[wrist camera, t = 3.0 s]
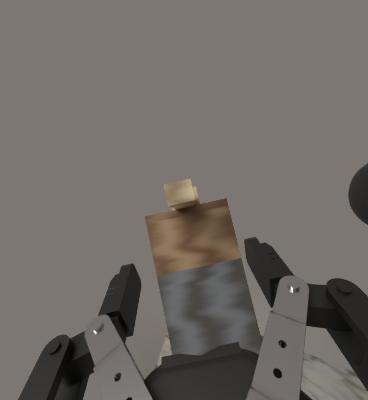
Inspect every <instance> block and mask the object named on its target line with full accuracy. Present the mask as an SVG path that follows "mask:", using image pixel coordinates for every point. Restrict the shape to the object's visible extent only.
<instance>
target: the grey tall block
mask: <svg viewBox="0 0 368 400" xmlns="http://www.w3.org/2000/svg"><path fill="white" fill-rule="evenodd" d="M145 219H146V224H147V229H148V234H149V239H150V243H151V249H152V254H153V259H154V264H155V268H156V274H157V279H158V284H159V289H160V294H161V299H162V304H163V309H164V314H165V319H166V324H167V329H168V334H169V339H170V344H171V349H172V354H173V355H175V354H180V353H181V354H190V355H203V354H205V353H207V352H208V351H210V350H212V349H214V348H216V347H218V346H220V345H225V344H230V343H235V342H239V345H240V348H242V349H247V350H251V351H253V352H256V353H257V354H259V353H260V349H261V345H262V340H261V336H260V332H259V328H258V324H257V320H256V316H255V312H254V308H253V304H252V300H251V296H250V292H249V288H248V284H247V280H246V275H245V272H244V268H243V264H242V259H241V255H240V251H239V247H238V244H237V239H236V235H235V231H234V227H233V223H232V219H231V215H230V211H229V207H228V203H227V199H226V198H225V199H221V200H217V201H212V202H208V203H203V204H199V205H194V206H190V207H185V208H181V209H177V210H172V211H168V212H164V213H159V214H154V215H150V216H146V217H145Z"/></svg>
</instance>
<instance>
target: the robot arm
mask: <svg viewBox="0 0 368 400" xmlns="http://www.w3.org/2000/svg"><path fill="white" fill-rule="evenodd" d="M348 195H349V203H350V206H351V208H352V210H353V211H354V213H355V214H356V215H357V217H358V218H359V219H361V220H362V221H363V222H364V223H366V224H367V225H368V164H366V165H365V166H363V167H362V168H361V169H360V170H358V172H357V173H356V174H355V176H354V177H353V179H352V181H351V183H350V187H349V194H348ZM244 241H245V242H244V243H245V252H246V259H247V262H248V265H249V267H250V268H251V271H252V272H253V274H254V276H255V278H256V280H257V282H258V284H259V286H260V287H261V290H262V292H263V293H264V295H265V297H266V299H267V301H268V303H269V305H270V307H271V308H272V307H273V310H272V311H271V312H270V314H269V317H268V321H267V325H266V329H265V333H264V337H263V341H262V345H261V349H260V353H259V354H257V353H256V352H253V351H251V350H247V349H242V348H240V345H239V342H235V343H230V344H225V345H220V346H218V347H216V348H214V349H212V350H210V351H208V352H207V353H205V354H203V355H190V354H181V353H180V354H175V355H170V356H166V357H162V363H161V365H160V366H158V367H157V368H156V369H154V370H153V371H152V372H151V373H150V374H149V375H148V377H147V378H146V379H144V377H143V376H142V374H141V372H140V370H139V368H138V367H137V365H136V363H135V361H134V359H133V357H132V355H131V354H130V352H129V350H128V348H127V346H126V345H125V341H126V337H129V336H133V331H134V326H135V320H136V314H137V309H138V303H139V297H140V291H141V280H140V277H139V275H138V273H137V270H136V268H135V266H134V264H128V265H123V266H122V267H121V270H120V273H119V274H117V275H115V276H114V278H113V279H112V280H111V282H110V285H109V287H108V290H107V293H106V296H105V298H104V301H103V304H102V306H101V309H100V312H99V315H98V317H96V318H94V319H93V320H92V321H91V322H90V323H89V325H88V326H87V328H86V330H85V331H84V332H82V333H80V334H78V335H76V336H74V337H73V338H71V339H70V338H69V337H68V336H67V335H60V336H57V337H56V338H54V339H53V340H51V342H49V343H48V344H47V345H46V347H45V348H44V350H43V351H42V353H41V355H40V357H39V359H38V361H37V363H36V365H35V367H34V369H33V371H32V373H31V375H30V377H29V379H28V381H27V383H26V385H25V387H24V389H23V391H22V393H21V395H20V397H19V399H18V400H83V397H84V393H85V389H86V386H87V382H88V378H89V375H90V374H92V373H95V376H96V379H97V382H98V385H99V388H100V391H101V394H102V397H103V400H312V399H311V398H310V397H309V396H308V395H306V394H305V393H304V392H303V391H302V390H301V379H302V367H303V355H304V344H305V332H306V326H312V327H320V328H326V329H327V331H328V332H329V334H330V335H331V337H332V338H333V339H334V341H335V343H336V344H337V346H338V347H339V349H340V350H341V352H342V353H343V355H344V356H345V358H346V359H347V361H348V362H349V364H350V365H351V367H352V368H353V370H354V371H355V373H356V374H357V376H358V377H359V379H360V380H361V382H362V383H363V385H364V386H365V388H366V389H367V391H368V297H367V295H366V294H364V292H363V291H362V290H361V289H360V288H358V287H357V286H356V285H355V284H353V283H351V282H350V281H347V280H344V279H339V278H336V279H331V280H329V281H328V282H327V285H314V284H308V283H306V282H305V281H304V280H302V279H300V278H299V277H296V276H294V275H293V273H292V272H291V271H290V269H289V268H288V267H287V266H286V264H285V263H284V262H283V261H282V259H281V258H280V257H279V255H278V254H277V253H276V251H275V250H274V249H273V248H272V246H270V245H268V244H266V243H261V244H260V243H259V241H258V240H257V238H256V237H253V238H248V239H245V240H244Z"/></svg>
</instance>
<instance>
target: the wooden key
mask: <svg viewBox="0 0 368 400" xmlns="http://www.w3.org/2000/svg"><path fill="white" fill-rule="evenodd" d="M164 188H165V193H166V198H167V202H168V206H169V207H171V208H172V210H177V209H181V208H185V207H190V206H194V205H199V204H200V203H199V198H198V194H197V189H196V186H193V187H192V184H191V180H190V179H187V180H183V181H179V182H174V183H170V184H165V185H164Z"/></svg>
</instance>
